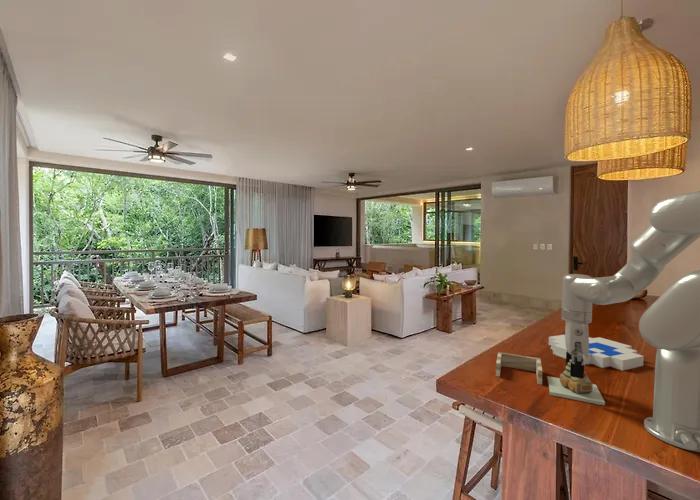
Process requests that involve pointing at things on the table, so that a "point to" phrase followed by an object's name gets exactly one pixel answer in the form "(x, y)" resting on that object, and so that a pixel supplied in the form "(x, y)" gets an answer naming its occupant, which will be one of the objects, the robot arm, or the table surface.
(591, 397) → the tile mat
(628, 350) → the pixel art tile
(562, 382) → the ornament
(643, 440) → the table surface
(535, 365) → the shelf bay
